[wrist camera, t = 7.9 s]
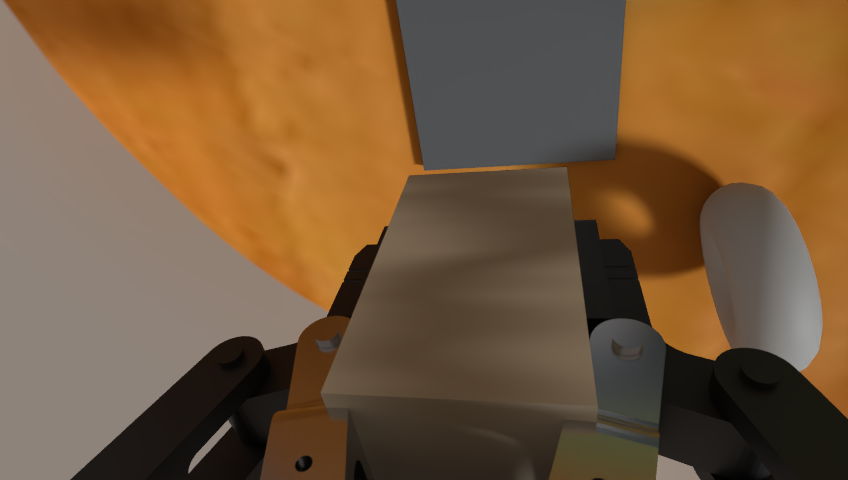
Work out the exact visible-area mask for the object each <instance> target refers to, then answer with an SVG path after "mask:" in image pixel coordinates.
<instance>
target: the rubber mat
mask: <svg viewBox="0 0 848 480" xmlns="http://www.w3.org/2000/svg"><path fill="white" fill-rule="evenodd" d="M396 3H397V9H398V15H399V21H400V27H401V33H402V39H403V45H404V51H405V57H406V63H407V69H408V75H409V81H410V88H411V94H412V100H413V106H414V112H415V118H416V124H417V130H418V136H419V142H420V148H421V154H422V160H423V166H424V170H440V169H458V168H475V167H493V166H511V165H528V164H546V163H564V162H582V161H599V160H615V153H616V138H617V123H618V108H619V93H620V78H621V63H622V48H623V33H624V18H625V3H626V0H396Z"/></svg>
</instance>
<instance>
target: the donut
mask: <svg viewBox="0 0 848 480" xmlns="http://www.w3.org/2000/svg"><path fill="white" fill-rule="evenodd" d="M700 235H701V245H702V251H703V258H704V263H705V268H706V273H707V278H708V282H709V286H710V290H711V294H712V297H713V301H714V304H715V307H716V311H717V314H718V317H719V320H720V322H721V325H722V328H723V331H724V333H725V336H726V338H727V340H728V342H729V345H730V347H731V349H734V348H755V349H760V350H763V351H767V352H770V353H772V354H775V355H777V356H779V357H781V358H783V359H784V360H786V361H787V362H789V363H790V364H791V365H792V366H794V367H795V368H796V369H797V370H798V371H799V372H800V371H802V370H803V369H805V368H806V367H807V366H808V365H809V363H810V362H811V361H812V359H813V358H814V357H815V355H816V354H817V353H818V351H819V346H820V341H821V334H822V327H823V324H822V308H821V300H820V295H819V290H818V285H817V279H816V275H815V272H814V269H813V265H812V262H811V259H810V255H809V252H808V249H807V247H806V244H805V242H804V240H803V237H802V235H801V232H800V230H799V228H798V226H797V224H796V222H795V220H794V219H793V217H792V215H791V214H790V212H789V210H788V209H787V208H786V207H785V205H784V204H783V203H782V202H781V201H780V200H779V199H778V198H777V197H776V196H775V195H774V194H773V193H772V192H771V191H769V190H768V189H766V188H764V187H762V186H757V185H752V184H747V183H731V184H728V185H725V186H723V187H720V188H719V189H717V190H716V191H715V192H713V193H712V194H711V195H710V196H709V198H708V199H707V200H706V202H705V204H704V206H703V208H702V211H701V215H700Z"/></svg>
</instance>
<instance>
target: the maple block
mask: <svg viewBox="0 0 848 480" xmlns="http://www.w3.org/2000/svg"><path fill="white" fill-rule="evenodd" d="M321 396H322V398H323V401H324V403H325V406H326V408H348V409H349V411H350V414H351V417H352V420H353V422H354V425H355V428H356V431H357V433H358V436H359V439H360V442H361V444H362V447H363V450H364V452H365V455H366V458H367V461H368V463H369V466H370V469H371V472H372V474H373V477H374V480H549V477H550V473H551V469H552V466H553V462H554V458H555V454H556V450H557V446H558V443H559V439H560V435H561V431H562V427H563V423H564V420H565V419H566V420H579V421H589V422H597V411H598V404H597V396H596V388H595V380H594V373H593V365H592V357H591V349H590V342H589V334H588V326H587V319H586V311H585V303H584V295H583V288H582V280H581V272H580V264H579V257H578V249H577V241H576V233H575V226H574V218H573V210H572V203H571V195H570V187H569V179H568V172H567V167H558V168H539V169H521V170H502V171H484V172H466V173H447V174H429V175H411V176H409V177H408V180H407V182H406V185H405V187H404V189H403V192H402V194H401V197H400V199H399V202H398V204H397V207H396V209H395V211H394V214H393V216H392V219H391V221H390V224H389V226H388V229H387V231H386V234H385V236H384V238H383V241H382V243H381V246H380V248H379V251H378V253H377V256H376V258H375V261H374V263H373V265H372V268H371V270H370V273H369V275H368V278H367V280H366V283H365V285H364V287H363V290H362V292H361V295H360V297H359V300H358V302H357V305H356V307H355V310H354V312H353V314H352V317H351V319H350V322H349V324H348V327H347V329H346V332H345V334H344V337H343V339H342V341H341V344H340V346H339V349H338V351H337V354H336V356H335V359H334V361H333V363H332V366H331V368H330V371H329V373H328V376H327V378H326V381H325V383H324V386H323V388H322V390H321Z"/></svg>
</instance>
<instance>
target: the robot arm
mask: <svg viewBox="0 0 848 480" xmlns="http://www.w3.org/2000/svg"><path fill="white" fill-rule="evenodd" d="M574 226H575V233H576V241H577V249H578V257H579V264H580V272H581V280H582V288H583V295H584V303H585V311H586V319H587V326H588V334H589V342H590V349H591V357H592V365H593V373H594V380H595V388H596V396H597V404H598V411H597V422H589V421H579V420H566V419H565V420H564V423H563V427H562V431H561V435H560V439H559V443H558V446H557V450H556V454H555V458H554V462H553V466H552V469H551V473H550V477H549V480H656V471H657V461H658V455H661V456H664V457H667V458H670V459H673V460H676V461H678V462H681V463H684V464H687V465H690V466H693V467H694V470H695V471H696V473H697V475H698V476H699V478H700V479H701V480H848V419H847V418H846V417H845V416H844V415H843V414H842V413H841V412H840V411H839V410H838V409H837V408H836V407H835V406H834V405H833V404H832V403H831V402H830V401H829V400H828V399H827V398H826V397H825V396H824V395H823V394H822V393H821V392H820V391H819V390H818V389H816V388H815V387H814V386H813V385H812V384H811V383H810V382H809V381H808V380H807V379H806V378H805V377H804V376H803V375H802V374H801V373H800V372H799V371H798V370H797V369H796V368H795V367H794V366H792V365H791V364H790V363H789V362H787V361H786V360H784V359H783V358H781V357H779V356H777V355H775V354H772V353H770V352H767V351H763V350H760V349H755V348H734V349H730V350H727V351H725V352H723V353H722V354H720V355H719V356H718V357H717V359H716V360H715V361H714V360H710V359H706V358H702V357H698V356H694V355H690V354H687V353H684V352H681V351H679V350H677V349H675V348H673V347H671V346H669V345H668V344H666V343H665V342H664V340H663V338H662V336H661V335H660V334H659V333H658V332H657V331H656V330H655V329H653V328H652V326H651V323H650V319H649V315H648V312H647V308H646V304H645V301H644V297H643V293H642V290H641V286H640V282H639V281H638V275H637V271H636V269H635V264H634V260H633V257H632V253H631V251H630V250H629V249H628V248H627V247H626V246H625V245H624V244H623V243H622V242H621V241H620V240H619V239H602V240H600V238H599V233H598V228H597V223H596V220H575V221H574ZM387 229H388V226H385V227H384V229H383V231H382V234H381V236H380V239H379V241H378V243H377V244H376V245H366V246H365V247H364V248H363V249H362V250H361V251H360V252H359V253H358V254H357V255H356V256H355V257H354V259H353V261H352V263H351V265H350V267H349V272H347V274H346V276H345V278H344V282H343V283H342V285H341V287H340V289H339V291H338V293H337V296H336V298H335V300H334V302H333V304H332V306H331V308H330V311H329V313H328V315H327V317H325V318H322V319H320V320H317V321H315V322H314V323H312V324H311V325H309V326H308V327H307V328H306V329H305V330H304V331H303V332H302V334H301V335H300V337H299V340H298V342H297V343H294V344H291V345H287V346H283V347H278V348H274V349H270V350H266V351H265V350H264V348H263V346H262V344H261V342H260V341H259V340H257V339H256V338H254V337H249V336H241V337H236V338H232V339H229V340H227V341H224V342H223V343H221V344H219V345H218V346H216V347H215V348H214V349H212V350H211V351H210V352H209V353H208V354H207V355H206V356H205V357H203V358H202V359H201V360H200V361H199V362H198V363H197V364H196V365H195V366H194V367H193V368H191V370H189V371H188V372H187V373H186V374H185V375H184V376H183V377H182V378H181V379H179V380H178V381H177V382H176V383H175V384H174V385H173V386H172V387H171V388H170V389H169V390H167V392H165V393H164V394H163V395H162V396H161V397H160V398H159V399H158V400H157V401H156V402H155V403H154V404H152V405H151V406H150V407H149V408H148V409H147V410H146V411H145V412H144V413H143V414H141V415H140V416H139V417H138V418H137V419H136V420H135V421H134V422H133V423H132V424H130V425H129V426H128V427H127V428H126V429H125V430H124V431H123V432H122V433H121V434H120V435H119V436H117V437H116V438H115V439H114V440H113V441H112V442H111V443H110V444H109V445H108V446H107V447H106V448H104V449H103V450H102V451H101V452H100V453H99V454H98V455H97V456H96V457H94V458H93V459H92V460H91V461H90V462H89V463H88V464H87V465H86V466H85V467H84V468H82V469H81V471H79V472H78V473H77V474H76V475H75V476H74V477H73V478H72V479H71V480H374V477H373V474H372V472H371V469H370V466H369V463H368V461H367V458H366V455H365V452H364V450H363V447H362V444H361V442H360V439H359V436H358V433H357V431H356V428H355V425H354V422H353V420H352V417H351V414H350V411H349V409H348V408H326V406H325V403H324V401H323V398H322V396H321V390H322V388H323V386H324V383H325V381H326V378H327V376H328V373H329V371H330V368H331V366H332V363H333V361H334V359H335V356H336V354H337V351H338V349H339V346H340V344H341V341H342V339H343V337H344V334H345V332H346V329H347V327H348V324H349V322H350V319H351V317H352V314H353V312H354V310H355V307H356V305H357V302H358V300H359V297H360V295H361V292H362V290H363V287H364V285H365V283H366V280H367V278H368V275H369V273H370V270H371V268H372V265H373V263H374V261H375V258H376V256H377V253H378V251H379V248H380V246H381V243H382V241H383V238H384V236H385V234H386V231H387ZM227 420H229V422H230V424H231V425H232V427H231V428H230V429H229V430H228V431H227V432H226V433H225V435H224V436H223V437H222V438H221V439H220V440H219V441H218V442H217V443H216V444H215V446H214V447H213V448H212V449H211V450H210V451H209V452H208V453H207V454H206V455H205V456H204V458H203V459H202V460H201V461H200V462H199V463H198V464H197V465H196V466H195V467H194V468H193V470H192V471H191V472H190V473H189V474H188V469H189V465H190V463H191V461H192V459H193V457H194V456H195V455H196V453H197V452H198V451H199V450H200V449H201V448H202V447H203V446H204V445H205V444H206V443H207V441H208V440H209V439H210V438H211V437H212V436H213V435H214V434H215V433H216V432H217V431H218V430H219V429H220V427H222V425H223V424H224V423H225V422H226V421H227Z"/></svg>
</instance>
